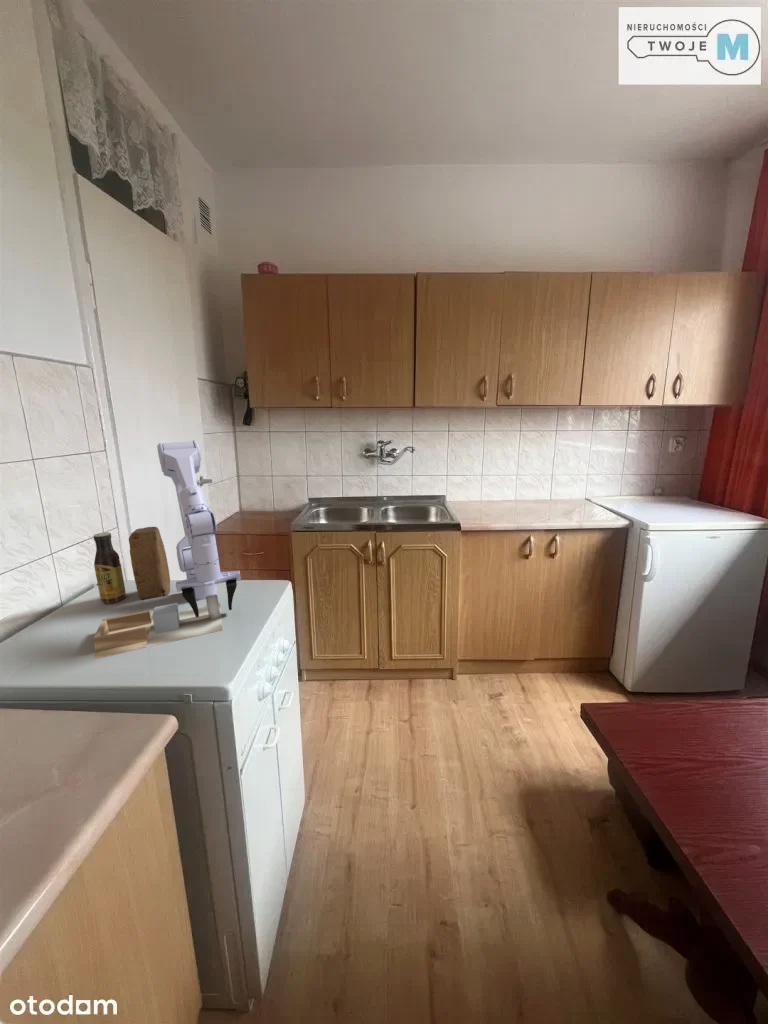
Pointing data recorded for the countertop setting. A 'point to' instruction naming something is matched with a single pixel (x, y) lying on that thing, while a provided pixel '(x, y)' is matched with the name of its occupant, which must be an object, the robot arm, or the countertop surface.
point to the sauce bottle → (108, 570)
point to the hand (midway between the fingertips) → (213, 611)
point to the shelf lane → (147, 631)
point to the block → (149, 563)
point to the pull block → (170, 618)
